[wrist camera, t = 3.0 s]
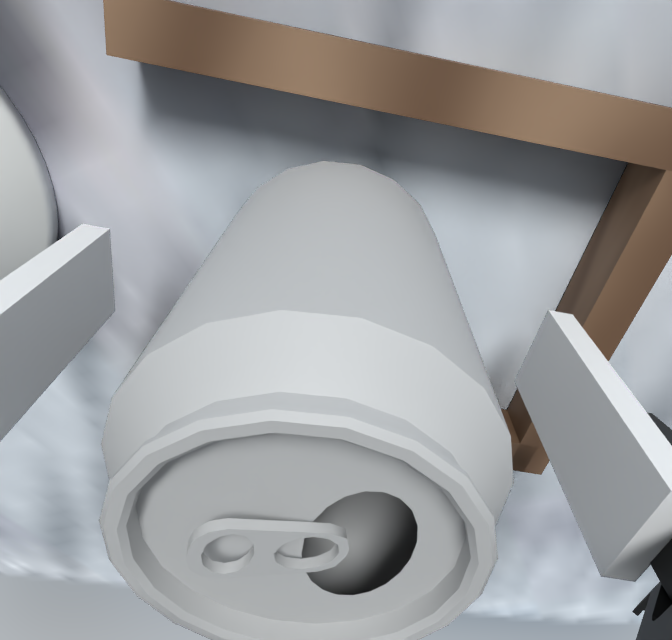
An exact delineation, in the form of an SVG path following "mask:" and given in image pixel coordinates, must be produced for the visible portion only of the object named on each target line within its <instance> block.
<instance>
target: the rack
mask: <svg viewBox="0 0 672 640" xmlns="http://www.w3.org/2000/svg"><path fill="white" fill-rule="evenodd" d="M103 3H104V20H105V37H106V54H107V55H109V56H114V57H119V58H124V59H129V60H134V61H138V62H143V63H148V64H153V65H158V66H163V67H168V68H173V69H177V70H182V71H187V72H192V73H197V74H202V75H207V76H211V77H216V78H221V79H226V80H231V81H236V82H241V83H245V84H250V85H255V86H260V87H265V88H270V89H275V90H279V91H284V92H289V93H294V94H299V95H304V96H309V97H313V98H318V99H323V100H328V101H333V102H338V103H343V104H348V105H352V106H357V107H362V108H367V109H372V110H377V111H382V112H386V113H391V114H396V115H401V116H406V117H411V118H416V119H420V120H425V121H430V122H435V123H440V124H445V125H450V126H454V127H459V128H464V129H469V130H474V131H479V132H484V133H488V134H493V135H498V136H503V137H508V138H513V139H518V140H523V141H527V142H532V143H537V144H542V145H547V146H552V147H557V148H561V149H566V150H571V151H576V152H581V153H586V154H591V155H595V156H600V157H605V158H610V159H615V160H620V161H625V162H628V164H627V166H626V168H625V170H624V172H623V174H622V176H621V178H620V181H619V183H618V185H617V187H616V189H615V191H614V193H613V195H612V197H611V199H610V201H609V203H608V205H607V207H606V209H605V211H604V213H603V215H602V217H601V219H600V221H599V223H598V225H597V228H596V230H595V232H594V234H593V236H592V238H591V240H590V242H589V244H588V246H587V248H586V250H585V252H584V254H583V256H582V258H581V260H580V262H579V264H578V266H577V268H576V270H575V272H574V275H573V277H572V279H571V281H570V283H569V285H568V287H567V289H566V291H565V293H564V295H563V297H562V299H561V301H560V303H559V305H558V307H557V309H556V312H562V313H567V314H573V316H574V317H575V318H576V320H577V321H578V322H579V324H580V325H581V326H582V328H583V329H584V330H585V332H586V333H587V334H588V336H589V337H590V338H591V339H592V341H593V342H594V343H595V345H596V346H597V347H598V349H599V350H600V351H601V353H602V354H603V355H604V357H605V358H606V359H607V361H609V360H610V358H611V356H612V354H613V353H614V351H615V349H616V348H617V346H618V344H619V343H620V341H621V339H622V338H623V336H624V334H625V333H626V331H627V329H628V328H629V326H630V324H631V322H632V321H633V319H634V317H635V316H636V314H637V312H638V311H639V309H640V307H641V306H642V304H643V302H644V301H645V299H646V297H647V296H648V294H649V292H650V290H651V289H652V287H653V285H654V284H655V282H656V280H657V279H658V277H659V275H660V274H661V272H662V270H663V269H664V267H665V265H666V264H667V262H668V260H669V258H670V257H671V255H672V108H671V107H666V106H661V105H657V104H652V103H647V102H643V101H638V100H633V99H628V98H624V97H619V96H614V95H610V94H605V93H600V92H596V91H591V90H586V89H582V88H577V87H572V86H568V85H563V84H558V83H554V82H549V81H544V80H540V79H535V78H530V77H526V76H521V75H516V74H511V73H507V72H502V71H497V70H493V69H488V68H483V67H479V66H474V65H469V64H465V63H460V62H455V61H451V60H446V59H441V58H437V57H432V56H427V55H423V54H418V53H413V52H409V51H404V50H399V49H395V48H390V47H385V46H380V45H376V44H371V43H366V42H362V41H357V40H352V39H348V38H343V37H338V36H334V35H329V34H324V33H320V32H315V31H310V30H306V29H301V28H296V27H292V26H287V25H282V24H278V23H273V22H268V21H263V20H259V19H254V18H249V17H245V16H240V15H235V14H231V13H226V12H221V11H217V10H212V9H207V8H203V7H198V6H193V5H189V4H184V3H179V2H175V1H170V0H103ZM135 363H136V362H135ZM133 366H134V365H133ZM131 369H132V368H131ZM501 411H502V414H503V417H504V419H505V422H506V425H507V427H508V430H509V433H510V435H511V447H512V465H513V470H515V471H521V472H527V473H533V474H540V475H541V474H542V472H543V471H544V469H545V467H546V466H547V464H548V462H549V461H550V460H549V458H548V456H547V453H546V451H545V449H544V447H543V444H542V442H541V440H540V438H539V435H538V433H537V431H536V429H535V426H534V424H533V422H532V420H531V417H530V415H529V413H528V411H527V408H526V406H525V404H524V402H523V399H522V397H521V395H520V393H519V390H518V389H517V391H516V393H515V395H514V397H513V399H512V401H511V403H510V405H509V407H508V409H507V410H504V409H501Z"/></svg>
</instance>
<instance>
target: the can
mask: <svg viewBox="0 0 672 640" xmlns="http://www.w3.org/2000/svg"><path fill="white" fill-rule="evenodd" d="M101 445H102V450H103V454H104V459H105V463H106V467H107V472H108V476H109V485H108V489H107V493H106V496H105V500H104V504H103V508H102V511H101V515H100V519H99V522H100V526H101V530H102V534H103V538H104V541H105V545H106V549H107V553H108V557H109V559H110V561H111V563H112V564H113V565H114V567H115V568H116V569H117V571H118V572H119V573H120V575H121V576H122V577H123V578H124V580H125V581H126V582H127V584H128V585H129V586H130V588H131V589H132V590H133V591H134V593H135V594H136V595H137V597H139V598H140V599H142V600H143V601H144V602H146V603H147V604H148V605H150V606H151V607H153V608H154V609H155V610H157V611H158V612H160V613H161V614H162V615H163V616H165V617H166V618H168V619H169V620H170V621H172V622H173V623H175V624H177V625H180V626H182V627H184V628H186V629H188V630H191V631H193V632H195V633H197V634H200V635H202V636H204V637H206V638H209V639H211V640H419V639H421V638H423V637H425V636H427V635H429V634H431V633H433V632H435V631H438V630H440V629H442V628H444V627H446V626H448V625H449V624H450V623H451V622H452V621H453V620H454V619H456V618H457V617H458V616H459V615H460V614H461V613H462V612H463V611H464V610H465V609H466V608H468V607H469V606H470V605H471V604H472V603H473V602H474V601H475V600H476V599H477V598H478V597H479V596H480V595H481V594H482V593H483V590H484V588H485V586H486V584H487V582H488V579H489V577H490V575H491V573H492V570H493V568H494V566H495V564H496V561H497V559H498V555H497V544H496V533H495V526H496V524H497V522H498V519H499V517H500V515H501V512H502V510H503V507H504V505H505V503H506V500H507V498H508V495H509V493H510V491H511V488H512V486H513V465H512V447H511V435H510V433H509V430H508V427H507V425H506V422H505V419H504V417H503V414H502V411H501V409H500V406H499V403H498V401H497V398H496V395H495V393H494V390H493V387H492V385H491V382H490V379H489V377H488V374H487V371H486V368H485V366H484V363H483V360H482V358H481V355H480V352H479V350H478V347H477V344H476V342H475V339H474V336H473V334H472V331H471V328H470V326H469V323H468V320H467V318H466V315H465V312H464V310H463V307H462V304H461V302H460V299H459V296H458V294H457V291H456V288H455V286H454V283H453V280H452V278H451V275H450V272H449V270H448V267H447V264H446V262H445V259H444V256H443V254H442V251H441V248H440V246H439V243H438V240H437V238H436V235H435V233H434V231H433V229H432V227H431V225H430V223H429V221H428V219H427V217H426V215H425V213H424V211H423V209H422V208H421V206H420V204H419V203H418V202H417V201H416V200H415V199H414V198H413V197H412V196H411V195H410V194H408V193H407V192H406V191H405V190H404V189H403V188H402V187H401V186H400V185H399V184H398V183H397V182H396V181H395V180H393V179H391V178H389V177H386V176H384V175H382V174H380V173H378V172H375V171H373V170H371V169H369V168H367V167H364V166H362V165H359V164H349V163H339V162H330V161H320V162H316V163H311V164H307V165H302V166H298V167H294V168H289V169H286V170H285V171H283V172H282V173H280V174H278V175H277V176H275V177H273V178H272V179H270V180H269V181H267V182H265V183H264V184H262V185H261V186H259V187H257V189H256V190H255V191H254V192H253V194H252V195H251V196H250V197H249V199H248V200H247V201H246V202H245V204H244V205H243V206H242V207H241V209H240V210H239V211H238V212H237V214H236V215H235V217H234V218H233V220H232V221H231V223H230V224H229V226H228V227H227V228H226V230H225V231H224V233H223V234H222V236H221V237H220V239H219V240H218V242H217V243H216V245H215V246H214V248H213V249H212V251H211V252H210V254H209V255H208V256H207V258H206V259H205V261H204V262H203V264H202V265H201V267H200V268H199V270H198V271H197V273H196V274H195V276H194V277H193V279H192V280H191V282H190V283H189V284H188V286H187V287H186V289H185V290H184V292H183V293H182V295H181V296H180V298H179V299H178V301H177V302H176V304H175V305H174V307H173V308H172V310H171V311H170V312H169V314H168V315H167V317H166V318H165V320H164V321H163V323H162V324H161V326H160V327H159V329H158V330H157V332H156V333H155V335H154V336H153V338H152V339H151V340H150V342H149V343H148V345H147V346H146V348H145V349H144V351H143V352H142V354H141V355H140V357H139V358H138V360H137V361H136V363H135V364H134V366H133V367H132V369H131V370H130V371H129V373H128V374H127V376H126V377H125V379H124V380H123V382H122V383H121V385H120V386H119V388H118V389H117V391H116V392H115V394H114V395H113V397H112V399H111V404H110V408H109V412H108V416H107V420H106V425H105V429H104V433H103V437H102V442H101Z"/></svg>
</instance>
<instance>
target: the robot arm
mask: <svg viewBox="0 0 672 640" xmlns="http://www.w3.org/2000/svg"><path fill="white" fill-rule="evenodd" d="M114 312H115V300H114V284H113V269H112V254H111V239H110V229H108V228H103V227H98V226H92V225H87V224H81V225H80V226H79V227H77V228H76V229H74V230H73V231H71V232H70V233H68V234H67V235H66V236H64V237H63V238H61V239H60V240H58V241H57V242H55V243H54V244H52V245H51V246H50V247H48V248H47V249H45V250H44V251H42V252H41V253H39V254H38V255H37V256H35V257H34V258H32V259H31V260H29V261H28V262H26V263H25V264H23V265H22V266H21V267H19V268H18V269H16V270H15V271H13V272H12V273H10V274H9V275H8V276H6V277H5V278H3V279H2V280H0V441H1V440H2V439H3V438H4V437H5V436H6V434H7V433H8V432H9V431H10V430H11V429H12V428H13V427H14V425H15V424H16V423H17V422H18V421H19V420H20V419H21V417H22V416H23V415H24V414H25V413H26V412H27V411H28V409H29V408H30V407H31V406H32V405H33V404H34V403H35V402H36V400H37V399H38V398H39V397H40V396H41V395H42V394H43V392H44V391H45V390H46V389H47V388H48V387H49V386H50V384H51V383H52V382H53V381H54V380H55V379H56V378H57V376H58V375H59V374H60V373H61V372H62V371H63V370H64V369H65V367H66V366H67V365H68V364H69V363H70V362H71V361H72V359H73V358H74V357H75V356H76V355H77V354H78V353H79V351H80V350H81V349H82V348H83V347H84V346H85V345H86V343H87V342H88V341H89V340H90V339H91V338H92V337H93V336H94V334H95V333H96V332H97V331H98V330H99V329H100V328H101V326H102V325H103V324H104V323H105V322H106V321H107V320H108V318H109V317H110V316H111V315H112V314H113V313H114ZM515 384H516V386H517V388H518V390H519V393H520V395H521V397H522V399H523V402H524V404H525V406H526V408H527V411H528V413H529V415H530V417H531V420H532V422H533V424H534V426H535V429H536V431H537V433H538V435H539V438H540V440H541V442H542V444H543V447H544V449H545V451H546V453H547V456H548V458H549V460H550V462H551V465H552V467H553V469H554V472H555V474H556V476H557V478H558V481H559V483H560V485H561V487H562V490H563V492H564V494H565V496H566V499H567V501H568V503H569V505H570V508H571V510H572V512H573V514H574V517H575V519H576V521H577V523H578V526H579V528H580V530H581V532H582V535H583V537H584V539H585V541H586V544H587V546H588V548H589V550H590V553H591V555H592V557H593V559H594V562H595V564H596V566H597V568H598V571H599V573H600V575H601V577H608V578H615V579H621V580H628V581H634V582H635V581H636V580H637V579H638V578H639V577H640V576H641V575H642V574H643V573H644V571H645V570H646V569H647V568H648V567H649V566H650V565H651V566H652V567H653V569H654V571H655V573H656V575H657V576H658V578H659V580H660V582H659V583H658V584H657V585H656V586H655V587H654V588H653V589H652V591H651V592H650V593H649V594H648V595H647V596H646V597H645V598H644V599H643V600H642V601H641V602H640V603H639V604H638V605H637V607H636V608H635V609H634V610H633V611H632V612H633V613H635V614H636V615H637V616H638V615H639V614H640V613H641V612H642V611H643V610H645V612H644V616H643V619H642V622H641V625H640V628H639V632H638V635H637V638H636V640H672V430H671V429H670V428H669V427H668V426H666V425H665V424H664V423H663V422H662V421H660V420H659V419H658V418H657V417H656V416H654V415H653V414H652V413H647V412H646V411H645V410H644V408H643V407H642V406H641V404H640V403H639V402H638V400H637V399H636V398H635V396H634V395H633V394H632V392H631V391H630V390H629V388H628V387H627V386H626V385H625V383H624V382H623V381H622V379H621V378H620V377H619V375H618V374H617V373H616V371H615V370H614V369H613V367H612V366H611V365H610V363H609V362H608V361H607V359H606V358H605V357H604V355H603V354H602V353H601V351H600V350H599V349H598V347H597V346H596V345H595V343H594V342H593V341H592V339H591V338H590V337H589V336H588V334H587V333H586V332H585V330H584V329H583V328H582V326H581V325H580V324H579V322H578V321H577V320H576V318H575V317H574V316H573V314H567V313H562V312H556V311H551V310H548V312H547V314H546V316H545V318H544V320H543V322H542V324H541V326H540V328H539V331H538V333H537V335H536V337H535V339H534V341H533V343H532V345H531V347H530V349H529V351H528V354H527V356H526V358H525V360H524V362H523V364H522V366H521V368H520V370H519V372H518V374H517V376H516V379H515Z"/></svg>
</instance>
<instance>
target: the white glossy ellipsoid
mask: <svg viewBox="0 0 672 640" xmlns="http://www.w3.org/2000/svg"><path fill="white" fill-rule="evenodd" d="M57 236H58V216H57V205H56V200H55V195H54V190H53V185H52V182H51V179H50V176H49V173H48V170H47V166H46V163H45V161H44V159H43V157H42V154H41V152H40V150H39V148H38V145H37V143H36V141H35V139H34V137H33V135H32V134H31V132H30V130H29V128H28V127H27V125H26V123H25V121H24V120H23V118H22V116H21V114H20V113H19V112H18V110H17V109H16V107H15V106H14V104H13V103H12V102H11V100H10V99H9V97H8V96H7V94H6V93H5V92H4V90H3V89H2V88H1V87H0V280H2V279H3V278H5V277H6V276H8V275H9V274H10V273H12V272H13V271H15V270H16V269H18V268H19V267H21V266H22V265H23V264H25V263H26V262H28V261H29V260H31V259H32V258H34V257H35V256H37V255H38V254H39V253H41V252H42V251H44V250H45V249H47V248H48V247H50V246H51V245H52V244H54V243H55V242H57Z"/></svg>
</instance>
